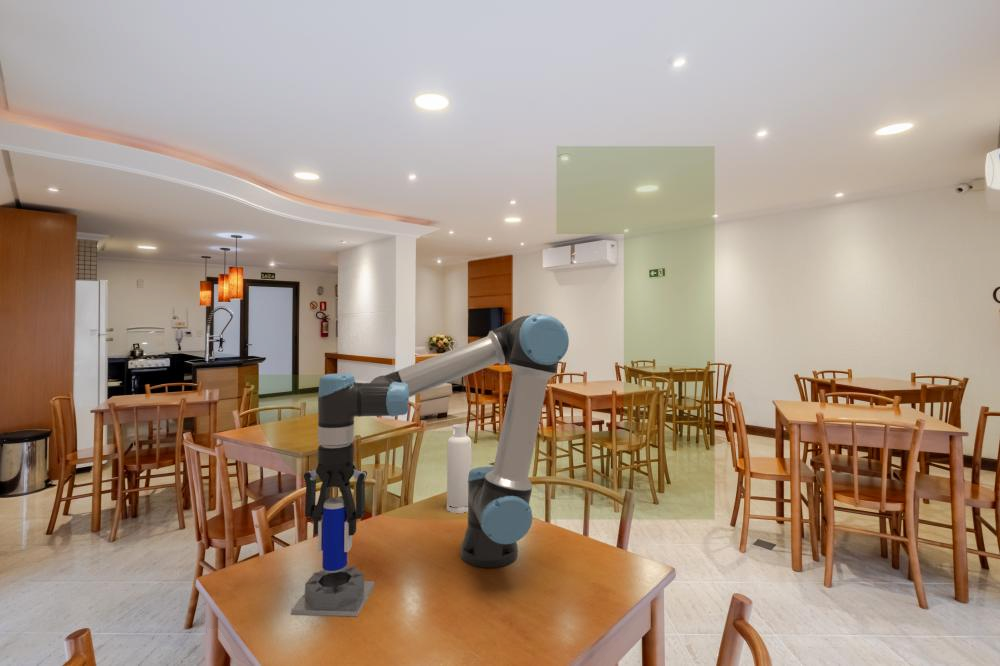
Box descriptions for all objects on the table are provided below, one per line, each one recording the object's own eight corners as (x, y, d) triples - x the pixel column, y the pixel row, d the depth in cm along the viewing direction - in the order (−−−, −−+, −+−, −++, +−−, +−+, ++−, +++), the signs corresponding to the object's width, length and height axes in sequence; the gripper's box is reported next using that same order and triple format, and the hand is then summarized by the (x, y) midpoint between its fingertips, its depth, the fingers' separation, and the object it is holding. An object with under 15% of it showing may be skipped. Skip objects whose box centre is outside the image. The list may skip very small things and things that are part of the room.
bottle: (473, 512, 157) (474, 427, 157) (449, 514, 155) (449, 428, 155) (468, 503, 165) (468, 422, 165) (444, 505, 163) (445, 423, 163)
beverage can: (351, 567, 106) (352, 500, 106) (329, 576, 102) (330, 506, 102) (339, 560, 109) (340, 494, 109) (318, 568, 106) (318, 500, 106)
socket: (374, 585, 112) (374, 566, 112) (357, 616, 100) (357, 594, 100) (315, 584, 112) (315, 565, 112) (291, 614, 100) (291, 593, 100)
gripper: (381, 440, 109) (380, 542, 109) (303, 439, 110) (302, 540, 110) (371, 448, 102) (370, 558, 102) (287, 447, 102) (286, 555, 102)
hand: (335, 548), depth 106 cm, fingers closed on beverage can, 5 cm apart
